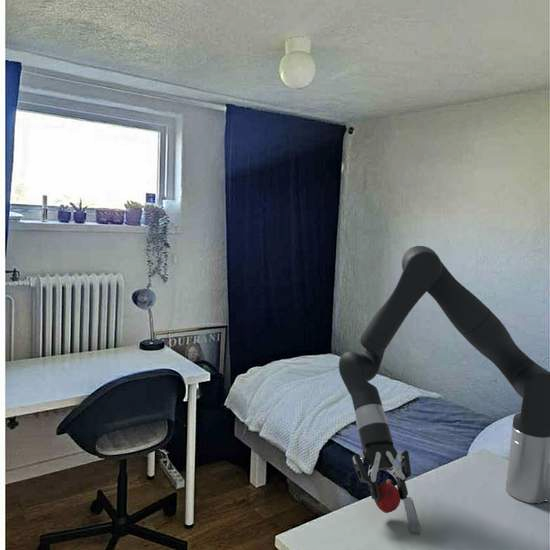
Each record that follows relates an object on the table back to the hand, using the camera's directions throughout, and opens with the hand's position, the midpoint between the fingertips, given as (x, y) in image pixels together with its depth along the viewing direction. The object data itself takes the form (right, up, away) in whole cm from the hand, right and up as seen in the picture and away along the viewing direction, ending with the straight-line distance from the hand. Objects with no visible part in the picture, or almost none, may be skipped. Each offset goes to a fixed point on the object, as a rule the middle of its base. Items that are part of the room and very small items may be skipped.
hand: (391, 499), depth 110 cm
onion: (-1, -4, +2) cm, 5 cm away
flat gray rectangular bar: (+6, -5, +4) cm, 9 cm away
